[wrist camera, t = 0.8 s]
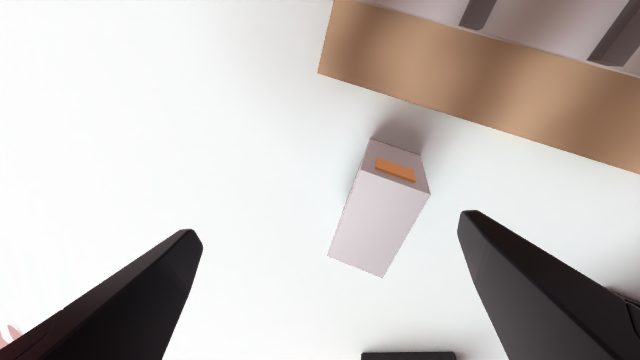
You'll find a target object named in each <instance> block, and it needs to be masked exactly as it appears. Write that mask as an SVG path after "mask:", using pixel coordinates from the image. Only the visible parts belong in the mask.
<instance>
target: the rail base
mask: <svg viewBox="0 0 640 360" xmlns="http://www.w3.org/2000/svg"><path fill="white" fill-rule="evenodd" d="M317 73H319V74H322V75H325V76H328V77H331V78H335V79H338V80H341V81H344V82H347V83H351V84H354V85H357V86H360V87H363V88H366V89H370V90H373V91H376V92H379V93H382V94H386V95H389V96H392V97H395V98H398V99H401V100H405V101H408V102H411V103H414V104H417V105H421V106H424V107H427V108H430V109H433V110H436V111H440V112H443V113H446V114H449V115H452V116H456V117H459V118H462V119H465V120H468V121H471V122H475V123H478V124H481V125H484V126H487V127H491V128H494V129H497V130H500V131H503V132H506V133H510V134H513V135H516V136H519V137H522V138H526V139H529V140H532V141H535V142H538V143H541V144H545V145H548V146H551V147H554V148H557V149H561V150H564V151H567V152H570V153H573V154H577V155H580V156H583V157H586V158H589V159H592V160H596V161H599V162H602V163H605V164H608V165H612V166H615V167H618V168H621V169H624V170H627V171H631V172H634V173H637V174H640V0H334V3H333V7H332V11H331V16H330V20H329V24H328V29H327V33H326V37H325V42H324V46H323V50H322V55H321V59H320V63H319V68H318V72H317Z"/></svg>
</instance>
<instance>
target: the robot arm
mask: <svg viewBox="0 0 640 360" xmlns="http://www.w3.org/2000/svg"><path fill="white" fill-rule="evenodd" d="M457 234H458V239H459V242H460V245H461V248H462V251H463V254H464V257H465V259H466V262H467V265H468V268H469V271H470V274H471V277H472V280H473V283H474V285H475V287H476V290H477V292H478V294H479V296H480V298H481V301H482V303H483V305H484V307H485V309H486V311H487V313H488V316H489V318H490V320H491V322H492V324H493V326H494V328H495V330H496V333H497V335H498V337H499V339H500V341H501V343H502V345H503V347H504V350H505V352H506V354H507V356H508V358H509V360H640V302H638V301H635V300H633V299H630V298H627V297H625V296H622V295H619V294H617V293H614V292H611V291H610V290H608V289H606V288H605V287H603V286H601V285H600V284H598V283H596V282H595V281H593V280H592V279H590V278H588V277H587V276H585V275H583V274H582V273H580V272H578V271H577V270H575V269H573V268H572V267H570V266H569V265H567V264H565V263H564V262H562V261H560V260H559V259H557V258H555V257H554V256H552V255H550V254H549V253H547V252H546V251H544V250H542V249H541V248H539V247H537V246H536V245H534V244H532V243H531V242H529V241H527V240H526V239H524V238H522V237H521V236H519V235H518V234H516V233H514V232H513V231H511V230H509V229H508V228H506V227H504V226H503V225H501V224H499V223H498V222H496V221H495V220H493V219H491V218H490V217H488V216H486V215H485V214H483V213H481V212H480V211H478V210H466V211H462V212H461V214H460V219H459V224H458V229H457ZM202 252H203V245H202V243H201V241H200V239H199V238H198V236H197V234H196V233H195V231H194V230H193V229H182V230H179V231H177V232H176V233H175V234H173V235H172V236H170V237H169V238H167V239H166V240H164V241H163V242H161V243H160V244H158V245H157V246H155V247H154V248H152V249H151V250H149V251H148V252H146V253H145V254H143V255H142V256H140V257H139V258H137V259H136V260H134V261H133V262H131V263H130V264H128V265H127V266H125V267H124V268H122V269H121V270H120V271H118V272H117V273H115V274H114V275H112V276H111V277H109V278H108V279H106V280H105V281H103V282H102V283H100V284H99V285H97V286H96V287H94V288H93V289H91V290H90V291H88V292H87V293H85V294H84V295H82V296H81V297H79V298H78V299H76V300H75V301H73V302H72V303H70V304H69V305H67V306H66V307H65V308H64V309H63V310H60V311H58V312H57V313H55V314H54V315H53V316H51V317H50V318H48V319H47V320H45V321H44V322H42V323H41V324H39V325H38V326H36V327H34V328H33V329H31V330H30V331H28V332H27V333H25V334H24V335H22V336H21V337H19V338H18V339H16V340H14V341H13V342H11V343H10V344H8V345H7V346H5V347H3V348H2V349H0V360H162V358H163V355H164V353H165V351H166V348H167V346H168V343H169V341H170V339H171V336H172V334H173V331H174V329H175V327H176V324H177V322H178V319H179V317H180V315H181V312H182V310H183V307H184V305H185V303H186V300H187V298H188V295H189V293H190V290H191V287H192V284H193V281H194V278H195V274H196V271H197V268H198V265H199V261H200V258H201V255H202Z"/></svg>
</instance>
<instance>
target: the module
mask: <svg viewBox="0 0 640 360" xmlns="http://www.w3.org/2000/svg"><path fill="white" fill-rule="evenodd" d="M429 196H430V191H429V187H428V183H427V179H426V175H425V171H424V167H423V163H422V159H421V156H420V155H417V154H414V153H411V152H408V151H406V150H403V149H400V148H397V147H394V146H391V145H388V144H385V143H382V142H379V141H376V140H373V139H370V140H369V143H368V145H367V148H366V150H365V153H364V156H363V159H362V162H361V164H360V167H359V170H358V172H357V175H356V178H355V180H354V183H353V186H352V188H351V191H350V194H349V196H348V198H347V201H346V204H345V206H344V209H343V212H342V215H341V218H340V221H339V223H338V226H337V229H336V232H335V235H334V238H333V241H332V244H331V247H330V249H329V252H328V255H327V256H329V257H332V258H334V259H336V260H339V261H341V262H344V263H346V264H349V265H351V266H354V267H356V268H359V269H361V270H364V271H366V272H369V273H371V274H374V275H376V276H379V277H381V278H383V276H384V275H385V273H386V271H387V269H388V268H389V266H390V264H391V262H392V261H393V259H394V257H395V256H396V254H397V252H398V250H399V249H400V247H401V245H402V243H403V242H404V240H405V238H406V236H407V235H408V233H409V231H410V229H411V228H412V226H413V224H414V222H415V221H416V219H417V217H418V215H419V214H420V212H421V210H422V209H423V207H424V205H425V203H426V202H427V200H428V198H429Z"/></svg>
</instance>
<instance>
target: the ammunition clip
mask: <svg viewBox="0 0 640 360" xmlns="http://www.w3.org/2000/svg"><path fill="white" fill-rule="evenodd" d="M361 360H457V359H456V357H455V354H454V353H453V352H383V353H362V354H361Z"/></svg>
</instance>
